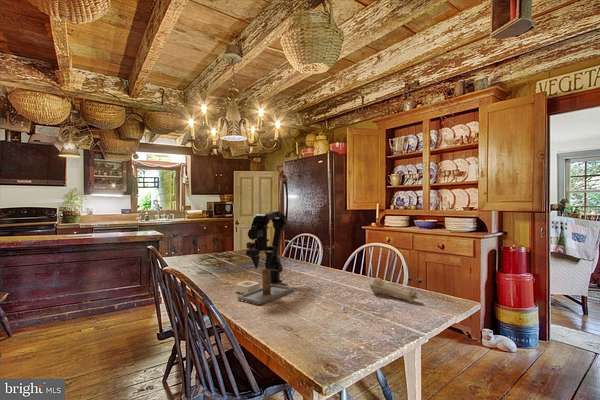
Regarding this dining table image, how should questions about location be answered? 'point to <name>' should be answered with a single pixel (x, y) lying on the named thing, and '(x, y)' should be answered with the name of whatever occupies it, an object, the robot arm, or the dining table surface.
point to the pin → (266, 282)
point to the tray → (259, 298)
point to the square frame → (247, 286)
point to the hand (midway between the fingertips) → (262, 266)
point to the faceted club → (391, 290)
